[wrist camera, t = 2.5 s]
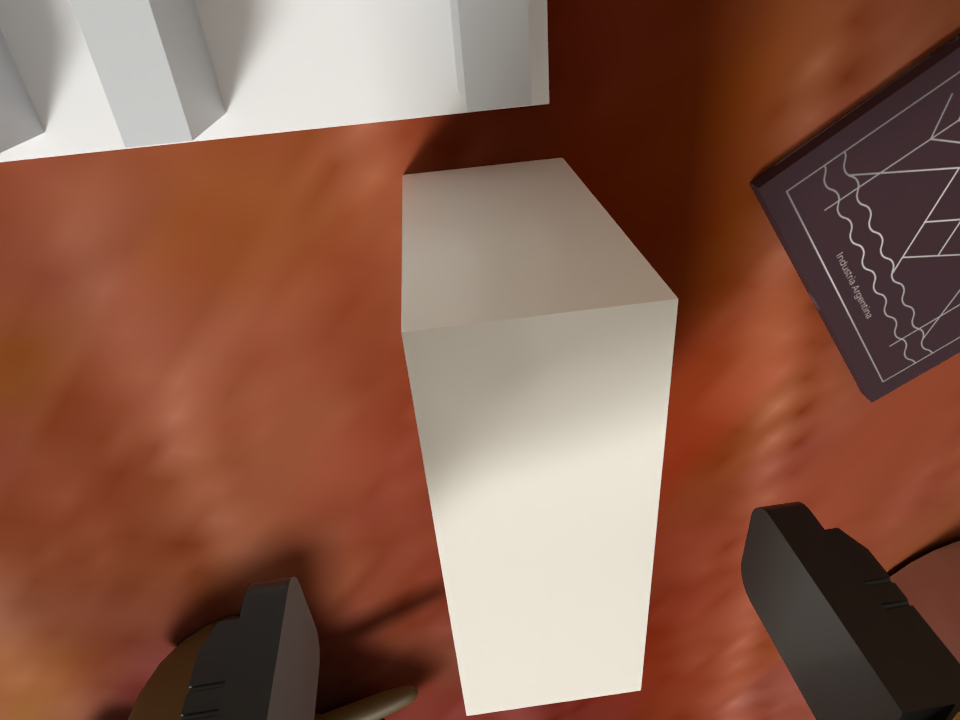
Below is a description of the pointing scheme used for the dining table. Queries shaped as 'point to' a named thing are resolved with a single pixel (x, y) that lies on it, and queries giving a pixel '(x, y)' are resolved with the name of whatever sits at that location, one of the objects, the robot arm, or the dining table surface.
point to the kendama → (169, 683)
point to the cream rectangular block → (536, 425)
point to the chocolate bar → (881, 224)
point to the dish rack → (254, 67)
